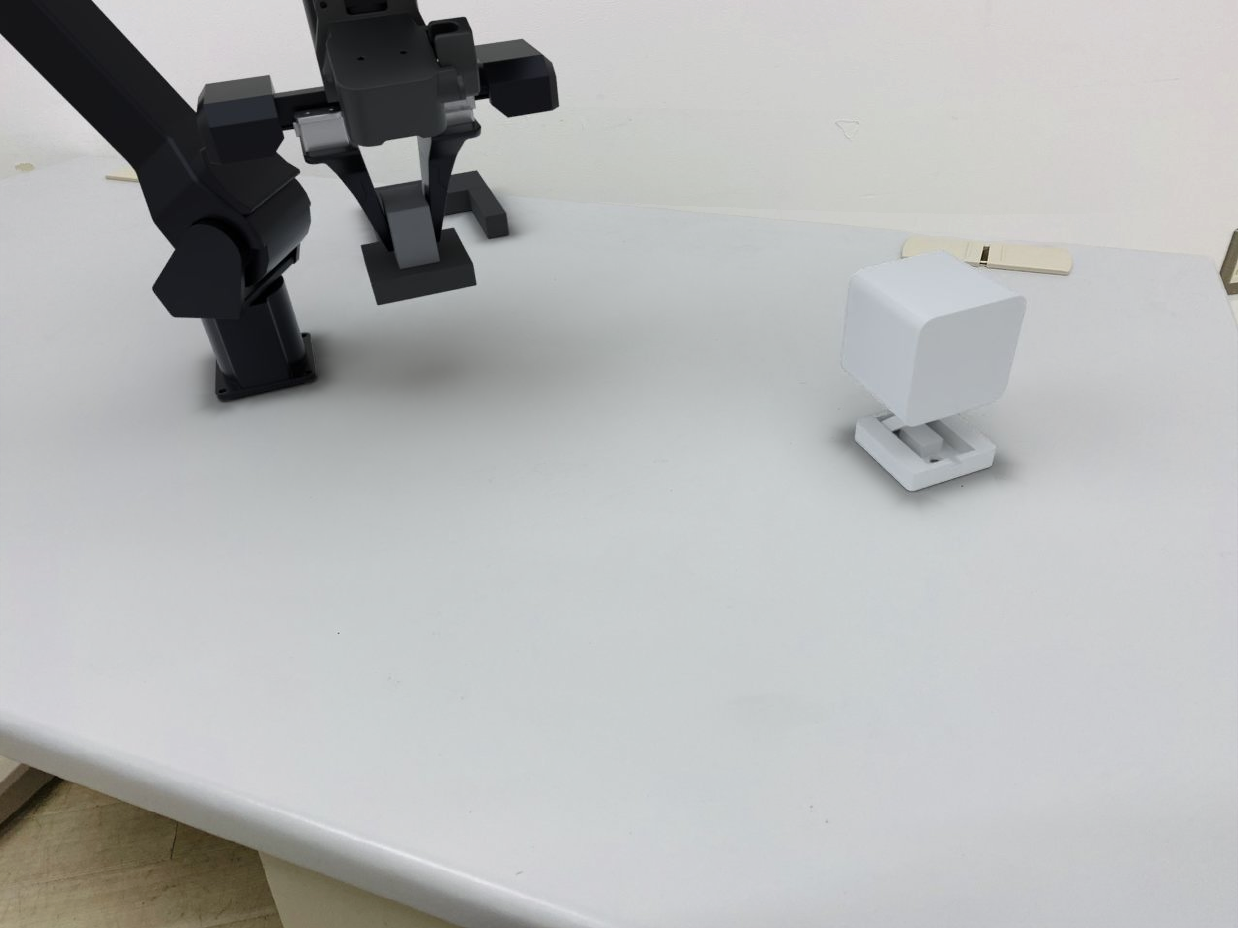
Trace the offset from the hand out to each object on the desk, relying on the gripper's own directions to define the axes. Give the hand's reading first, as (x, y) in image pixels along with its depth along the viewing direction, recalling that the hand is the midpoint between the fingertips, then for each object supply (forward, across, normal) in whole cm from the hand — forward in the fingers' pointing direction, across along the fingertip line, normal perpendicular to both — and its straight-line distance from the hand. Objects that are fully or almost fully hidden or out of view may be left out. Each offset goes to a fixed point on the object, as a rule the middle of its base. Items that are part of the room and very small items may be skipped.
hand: (413, 245), depth 54 cm
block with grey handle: (+2, 0, 0) cm, 2 cm away
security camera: (+10, +24, -19) cm, 32 cm away
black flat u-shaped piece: (+9, +4, +27) cm, 29 cm away
